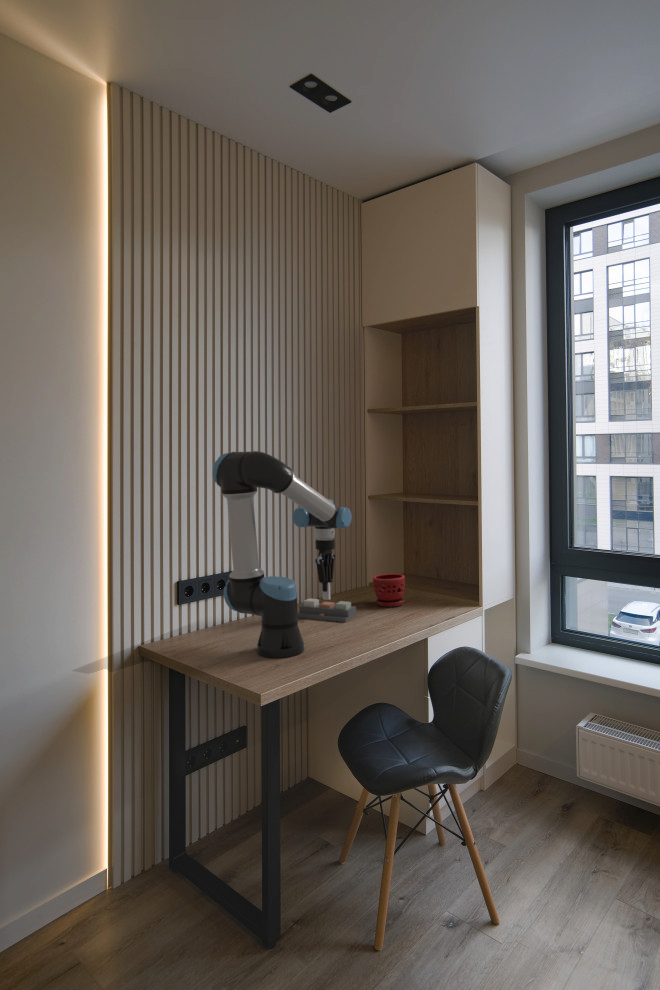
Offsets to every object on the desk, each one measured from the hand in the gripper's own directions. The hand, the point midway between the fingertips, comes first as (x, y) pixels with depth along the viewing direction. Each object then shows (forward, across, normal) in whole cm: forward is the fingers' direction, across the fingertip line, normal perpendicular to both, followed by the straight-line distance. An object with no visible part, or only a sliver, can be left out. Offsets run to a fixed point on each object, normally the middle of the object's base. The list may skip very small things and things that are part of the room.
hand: (326, 599), depth 238 cm
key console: (+7, -1, 0) cm, 7 cm away
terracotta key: (+5, 0, 0) cm, 5 cm away
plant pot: (+7, +26, -16) cm, 31 cm away
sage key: (+4, 0, -7) cm, 8 cm away
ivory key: (+4, 0, +7) cm, 8 cm away
